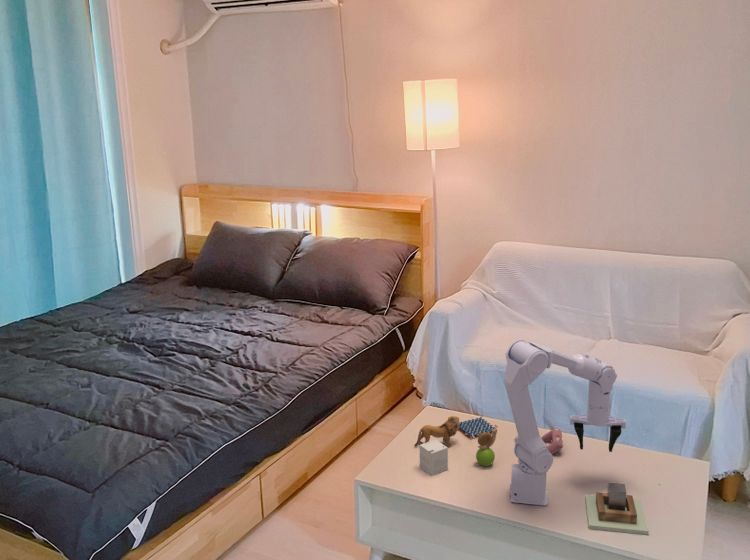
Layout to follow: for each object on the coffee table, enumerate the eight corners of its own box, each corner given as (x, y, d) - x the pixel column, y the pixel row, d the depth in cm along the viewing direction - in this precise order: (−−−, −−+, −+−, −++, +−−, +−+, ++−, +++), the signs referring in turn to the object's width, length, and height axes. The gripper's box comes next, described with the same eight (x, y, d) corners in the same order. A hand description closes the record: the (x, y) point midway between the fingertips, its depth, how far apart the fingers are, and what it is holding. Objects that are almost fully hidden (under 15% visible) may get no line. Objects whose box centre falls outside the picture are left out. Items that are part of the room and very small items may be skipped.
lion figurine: (456, 438, 223) (456, 412, 221) (462, 446, 218) (462, 419, 216) (411, 443, 220) (411, 417, 218) (416, 452, 215) (416, 425, 213)
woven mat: (452, 428, 231) (452, 422, 230) (480, 421, 235) (480, 415, 234) (469, 441, 221) (469, 436, 221) (498, 434, 225) (498, 429, 225)
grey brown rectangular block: (607, 515, 179) (609, 490, 178) (606, 506, 183) (608, 482, 181) (624, 516, 179) (626, 492, 177) (622, 507, 182) (624, 483, 180)
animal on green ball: (501, 466, 206) (502, 428, 202) (481, 471, 203) (482, 433, 200) (491, 457, 211) (492, 421, 207) (472, 462, 208) (473, 425, 205)
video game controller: (555, 461, 210) (567, 443, 208) (541, 454, 211) (553, 436, 208) (553, 445, 220) (564, 428, 218) (539, 438, 220) (551, 421, 218)
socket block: (588, 528, 176) (589, 516, 175) (585, 497, 189) (585, 486, 188) (648, 534, 173) (649, 522, 172) (640, 502, 186) (641, 491, 185)
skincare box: (435, 461, 209) (435, 438, 208) (448, 469, 205) (448, 446, 203) (419, 467, 206) (418, 444, 204) (431, 476, 201) (431, 453, 199)
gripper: (624, 399, 194) (621, 444, 197) (570, 396, 197) (568, 439, 201) (628, 410, 187) (624, 456, 191) (571, 406, 190) (569, 452, 194)
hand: (595, 448), depth 195 cm, fingers open, 7 cm apart
